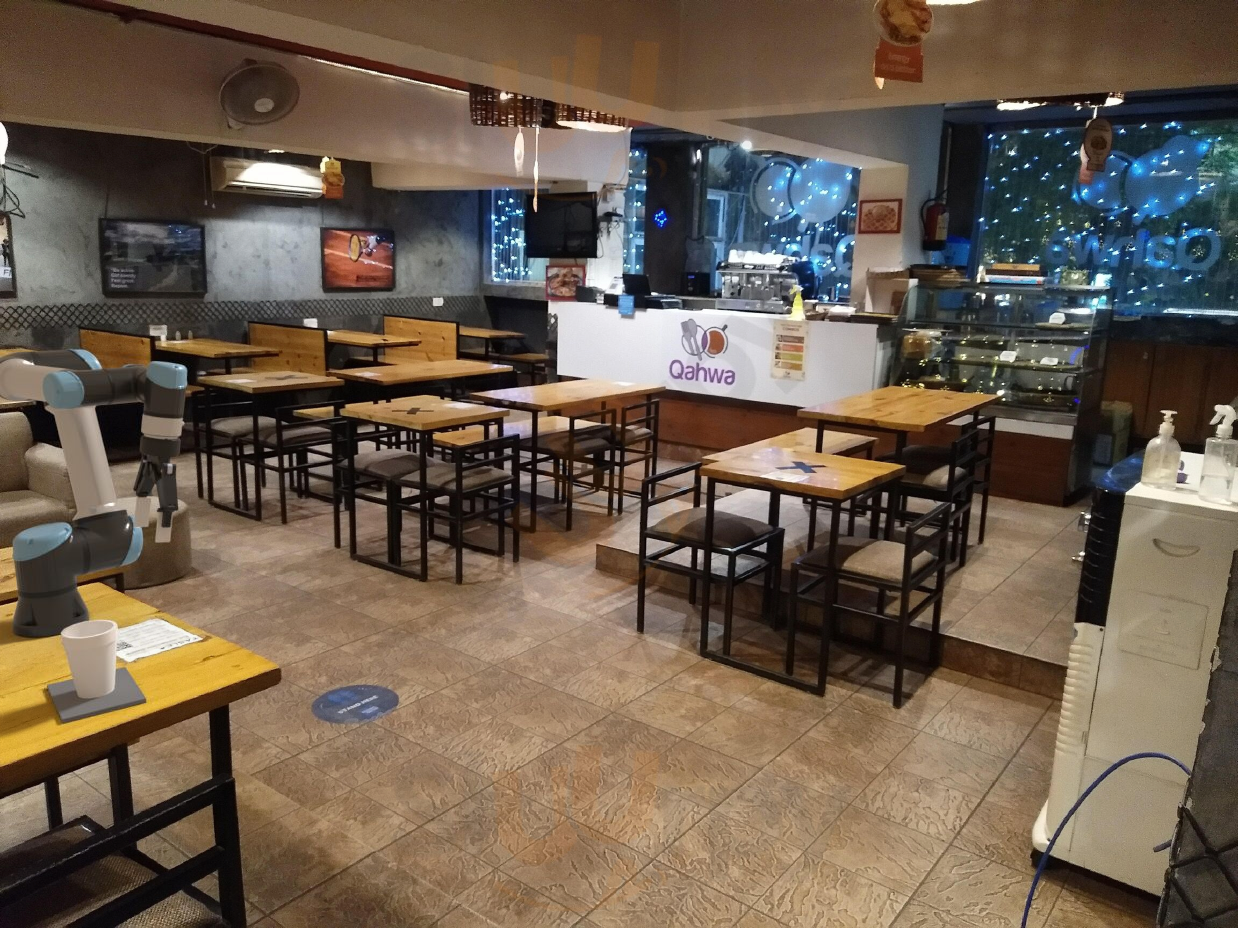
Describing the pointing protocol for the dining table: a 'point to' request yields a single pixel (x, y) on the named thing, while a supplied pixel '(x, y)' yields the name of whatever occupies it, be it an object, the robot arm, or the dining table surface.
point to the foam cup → (92, 656)
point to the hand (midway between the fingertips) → (151, 534)
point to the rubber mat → (79, 708)
